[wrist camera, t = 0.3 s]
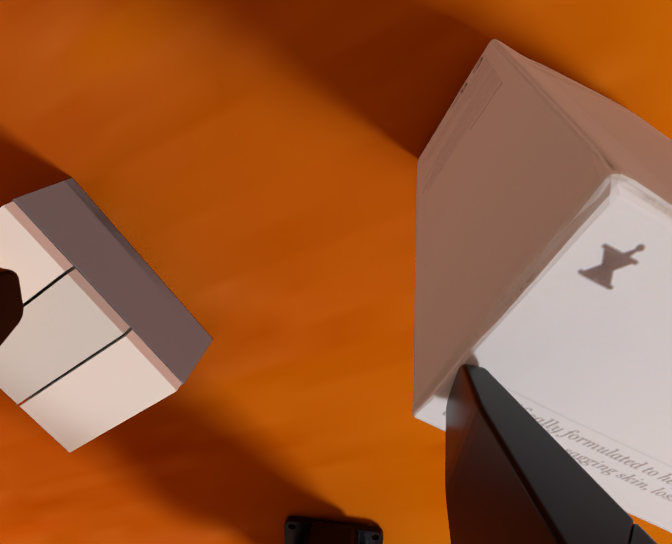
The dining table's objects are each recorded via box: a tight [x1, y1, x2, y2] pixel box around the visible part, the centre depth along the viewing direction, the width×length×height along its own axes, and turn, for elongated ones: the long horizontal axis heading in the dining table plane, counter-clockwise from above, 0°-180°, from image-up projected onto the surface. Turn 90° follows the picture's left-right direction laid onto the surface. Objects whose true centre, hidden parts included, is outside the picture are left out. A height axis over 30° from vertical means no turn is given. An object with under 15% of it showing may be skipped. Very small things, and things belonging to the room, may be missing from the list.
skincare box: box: [412, 39, 672, 533], centre depth 14 cm, size 8×6×15 cm
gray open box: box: [10, 178, 213, 398], centre depth 25 cm, size 11×8×4 cm
